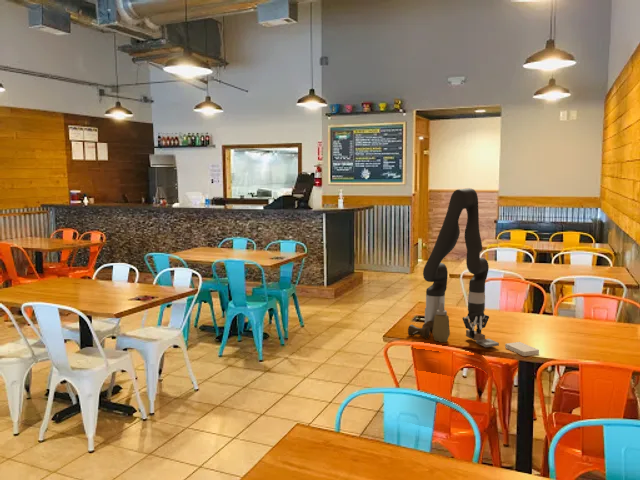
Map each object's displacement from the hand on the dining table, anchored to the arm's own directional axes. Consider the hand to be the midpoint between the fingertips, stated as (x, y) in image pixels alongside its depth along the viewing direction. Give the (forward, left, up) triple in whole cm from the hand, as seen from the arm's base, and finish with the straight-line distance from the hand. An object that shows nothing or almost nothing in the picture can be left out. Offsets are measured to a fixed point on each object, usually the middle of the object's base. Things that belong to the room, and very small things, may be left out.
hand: (475, 337), depth 251 cm
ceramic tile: (+12, +11, -1) cm, 17 cm away
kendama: (-18, -17, -3) cm, 25 cm away
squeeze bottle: (-7, -14, -2) cm, 16 cm away
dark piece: (+4, 0, -1) cm, 4 cm away
